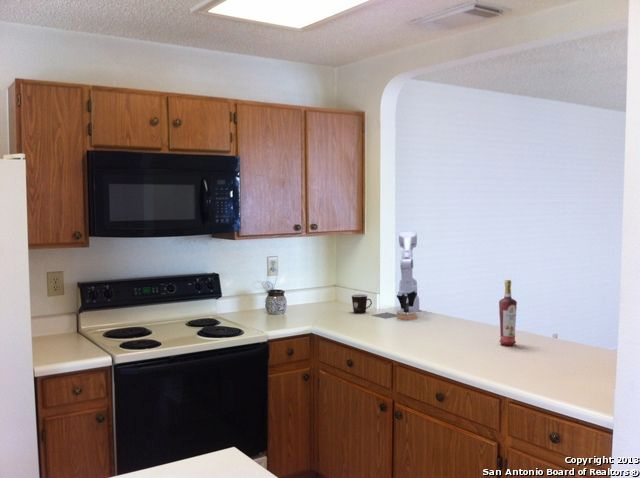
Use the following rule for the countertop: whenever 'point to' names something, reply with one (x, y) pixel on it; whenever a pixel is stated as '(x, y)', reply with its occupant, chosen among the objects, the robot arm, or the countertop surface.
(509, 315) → the liquor
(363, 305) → the coffee mug
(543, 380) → the countertop surface
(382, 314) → the mat
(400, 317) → the bowl
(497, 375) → the countertop surface
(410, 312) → the lid
